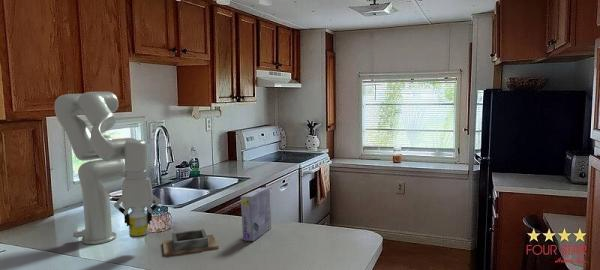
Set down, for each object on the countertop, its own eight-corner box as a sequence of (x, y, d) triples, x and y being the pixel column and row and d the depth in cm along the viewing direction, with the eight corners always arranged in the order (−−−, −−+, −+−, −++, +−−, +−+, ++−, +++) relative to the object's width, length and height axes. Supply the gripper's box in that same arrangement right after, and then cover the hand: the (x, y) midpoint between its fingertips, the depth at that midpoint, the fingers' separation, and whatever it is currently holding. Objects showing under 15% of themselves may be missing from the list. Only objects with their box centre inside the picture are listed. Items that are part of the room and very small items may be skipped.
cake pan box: (262, 226, 183) (260, 185, 181) (273, 227, 181) (271, 186, 179) (241, 241, 165) (239, 196, 163) (253, 242, 163) (251, 197, 161)
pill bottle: (132, 233, 158) (131, 202, 157) (150, 232, 159) (149, 202, 157) (127, 239, 152) (125, 207, 150) (145, 239, 152) (144, 207, 151)
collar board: (164, 256, 151) (163, 245, 151) (162, 243, 164) (162, 233, 164) (218, 248, 157) (218, 237, 157) (212, 236, 171) (212, 227, 170)
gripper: (109, 178, 146) (111, 229, 148) (162, 175, 152) (164, 224, 154) (110, 174, 153) (113, 223, 155) (161, 171, 159) (163, 218, 161)
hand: (138, 223), depth 155 cm, fingers closed on pill bottle, 6 cm apart
